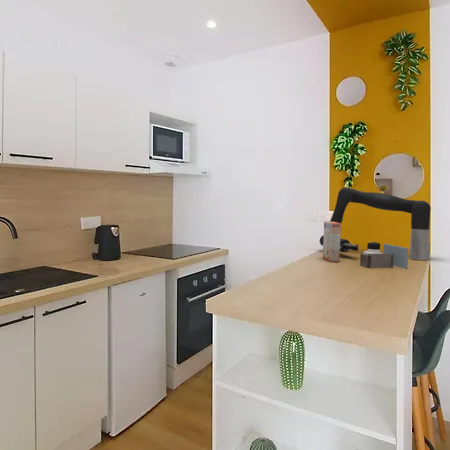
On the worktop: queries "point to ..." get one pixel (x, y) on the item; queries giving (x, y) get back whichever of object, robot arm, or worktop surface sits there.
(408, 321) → the worktop surface
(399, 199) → the robot arm
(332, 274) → the worktop surface
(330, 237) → the cracker box
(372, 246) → the medicine bottle
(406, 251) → the door board
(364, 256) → the keeper
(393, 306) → the worktop surface
